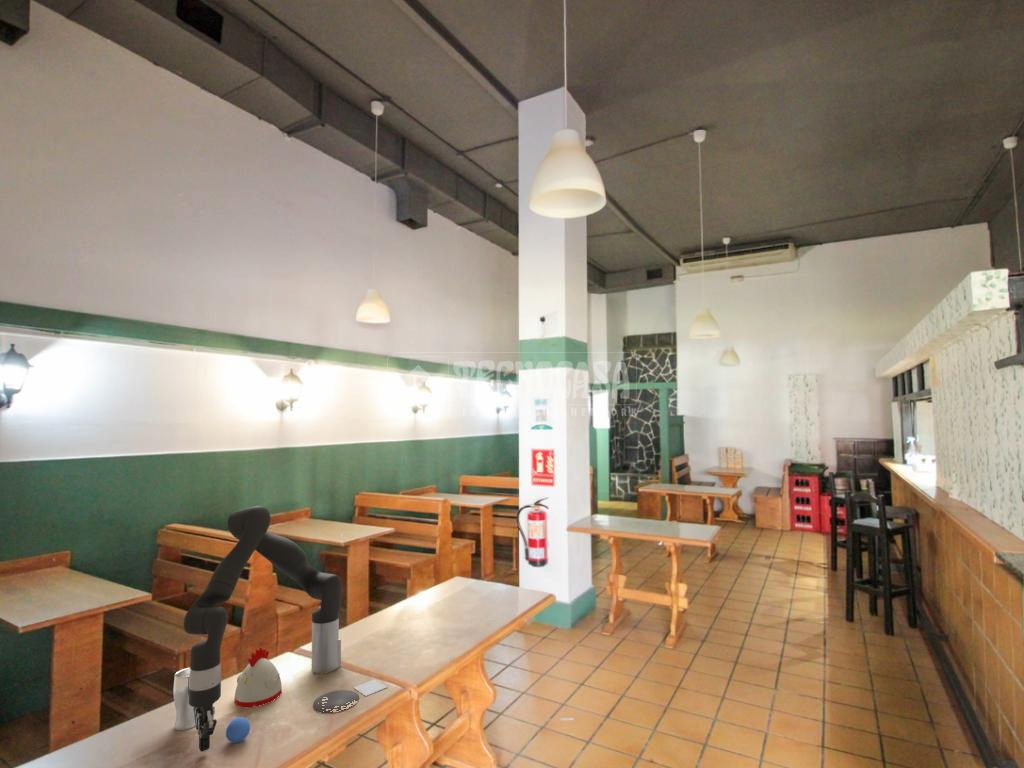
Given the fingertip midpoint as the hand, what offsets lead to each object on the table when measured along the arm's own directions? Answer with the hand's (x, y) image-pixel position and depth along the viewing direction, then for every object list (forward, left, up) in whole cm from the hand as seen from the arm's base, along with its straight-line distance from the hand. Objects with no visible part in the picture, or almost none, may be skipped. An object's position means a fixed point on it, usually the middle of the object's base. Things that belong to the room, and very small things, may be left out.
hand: (204, 749), depth 144 cm
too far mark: (-49, 0, -1) cm, 49 cm away
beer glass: (0, -20, -2) cm, 20 cm away
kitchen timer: (-21, -22, -2) cm, 31 cm away
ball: (-8, 0, +2) cm, 9 cm away
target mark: (-37, 0, -1) cm, 37 cm away
